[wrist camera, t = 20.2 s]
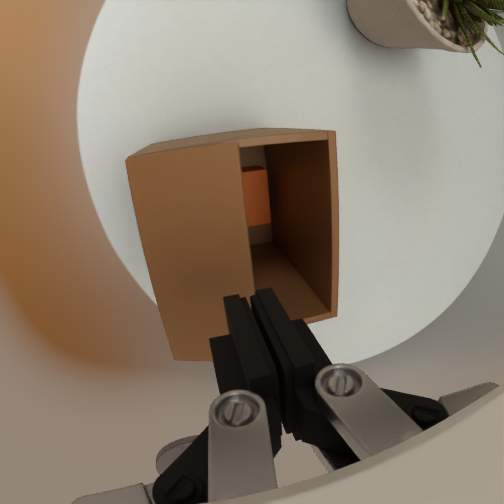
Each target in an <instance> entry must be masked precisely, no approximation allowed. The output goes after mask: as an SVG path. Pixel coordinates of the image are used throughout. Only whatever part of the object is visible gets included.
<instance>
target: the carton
mask: <svg viewBox="0 0 504 504" xmlns="http://www.w3.org/2000/svg"><path fill="white" fill-rule="evenodd" d="M236 142H238V143H239V151H240V160H241V167H248V166H256V165H259V166H261V167H263V168H265V169H267V179H268V190H269V201H270V212H271V223H267V224H261V225H256V226H250V227H248V232H249V241H250V250H251V259H252V268H253V276H254V285H255V290H260V289H265V288H270V287H271V288H272V289H273V291H274V292H275V294H276V296H277V298H278V299H279V301H280V303H281V304H282V306H283V308H284V309H285V311H286V313H287V315H288V316H289V318H290V320H295V319H300V318H302V319H303V320H304V321H305V323H306V324H310V323H314V322H318V321H322V320H325V319H329V318H333V317H337V309H338V280H339V196H338V167H337V148H336V132H335V131H331V130H315V129H293V128H259V129H249V130H240V131H231V132H223V133H216V134H209V135H202V136H195V137H189V138H182V139H176V140H171V141H165V142H160V143H154V144H151V145H149V146H147V147H145V148H143V149H141V150H140V151H138V152H136V153H134V154H132V155H131V156H129V157H127V159H129V158H134V157H139V156H145V155H150V154H156V153H162V152H168V151H175V150H181V149H188V148H195V147H203V146H210V145H219V144H227V143H236Z"/></svg>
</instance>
